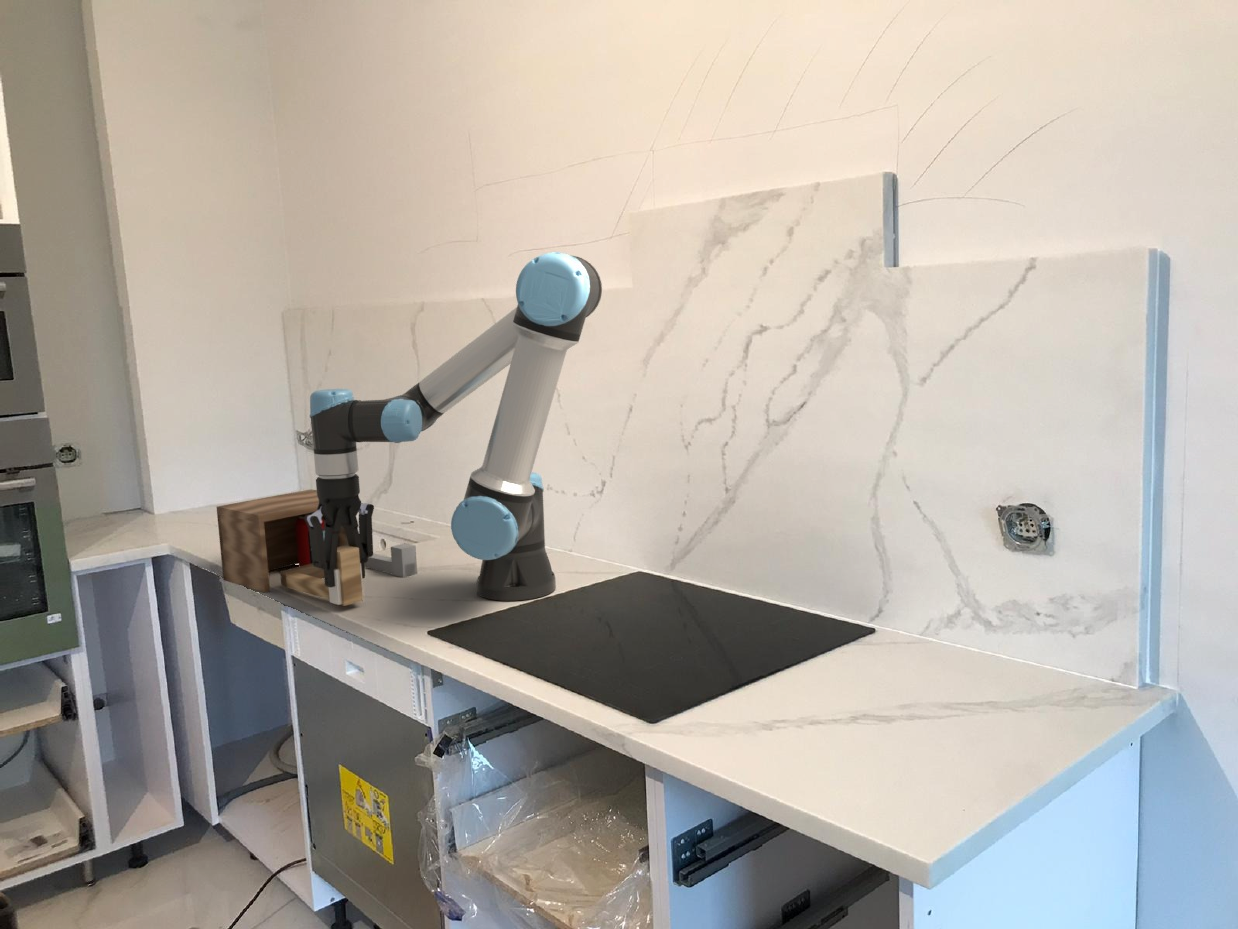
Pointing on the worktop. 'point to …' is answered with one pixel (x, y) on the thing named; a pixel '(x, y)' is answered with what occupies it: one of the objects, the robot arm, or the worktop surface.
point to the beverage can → (304, 540)
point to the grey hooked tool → (396, 561)
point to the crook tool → (312, 582)
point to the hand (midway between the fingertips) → (346, 599)
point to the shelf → (263, 536)
